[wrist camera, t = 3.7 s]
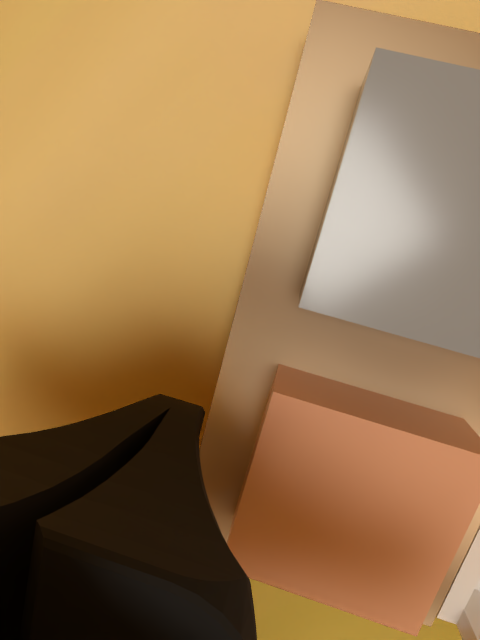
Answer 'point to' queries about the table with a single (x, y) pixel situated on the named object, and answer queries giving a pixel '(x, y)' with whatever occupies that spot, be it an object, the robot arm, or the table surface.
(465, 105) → the tile slate
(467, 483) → the tile terracotta
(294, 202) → the board
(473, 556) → the tray
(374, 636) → the table surface
